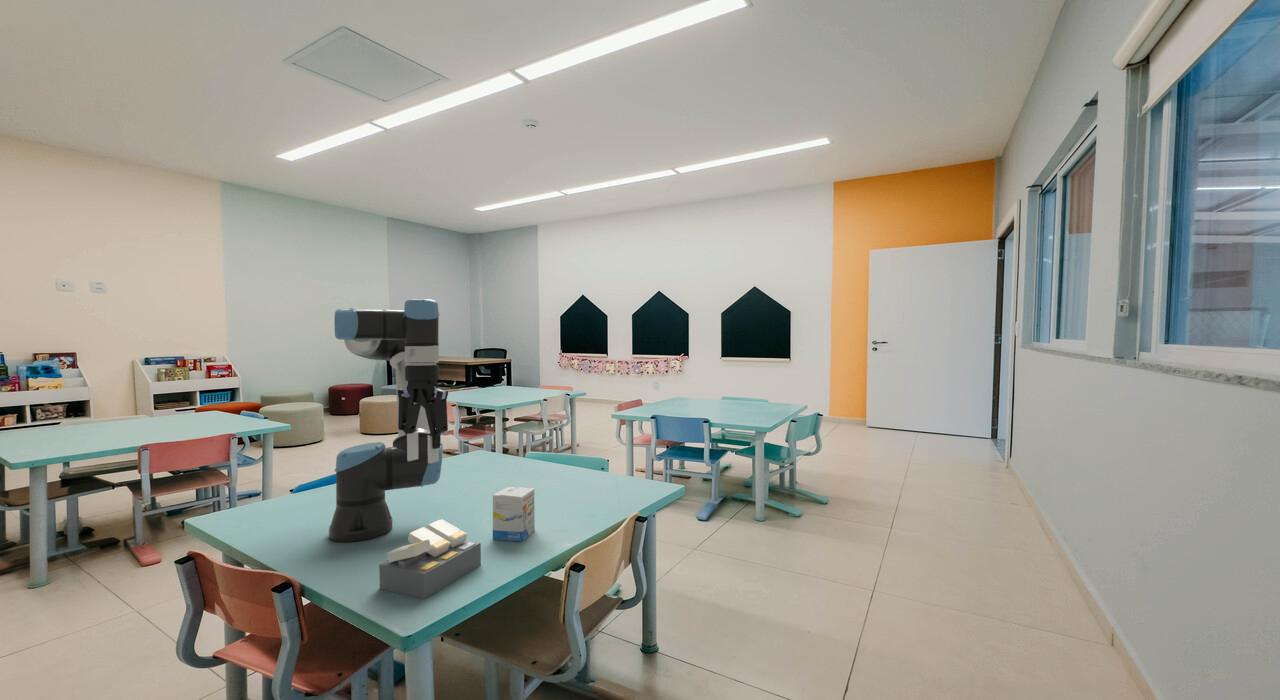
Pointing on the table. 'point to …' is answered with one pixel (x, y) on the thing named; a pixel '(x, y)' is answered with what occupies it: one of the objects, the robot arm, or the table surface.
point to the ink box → (513, 514)
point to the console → (429, 570)
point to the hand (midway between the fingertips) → (423, 460)
